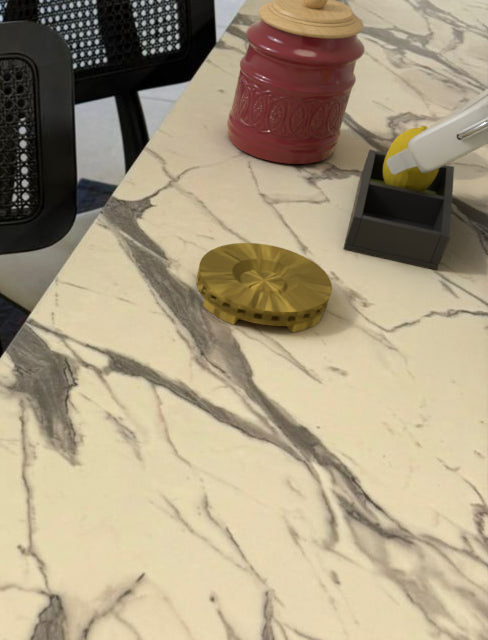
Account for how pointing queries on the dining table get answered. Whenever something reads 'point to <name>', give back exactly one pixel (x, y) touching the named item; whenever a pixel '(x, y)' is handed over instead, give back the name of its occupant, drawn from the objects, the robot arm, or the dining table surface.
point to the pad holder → (400, 217)
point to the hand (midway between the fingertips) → (411, 153)
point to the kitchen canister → (295, 80)
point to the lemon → (410, 176)
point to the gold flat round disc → (263, 286)
